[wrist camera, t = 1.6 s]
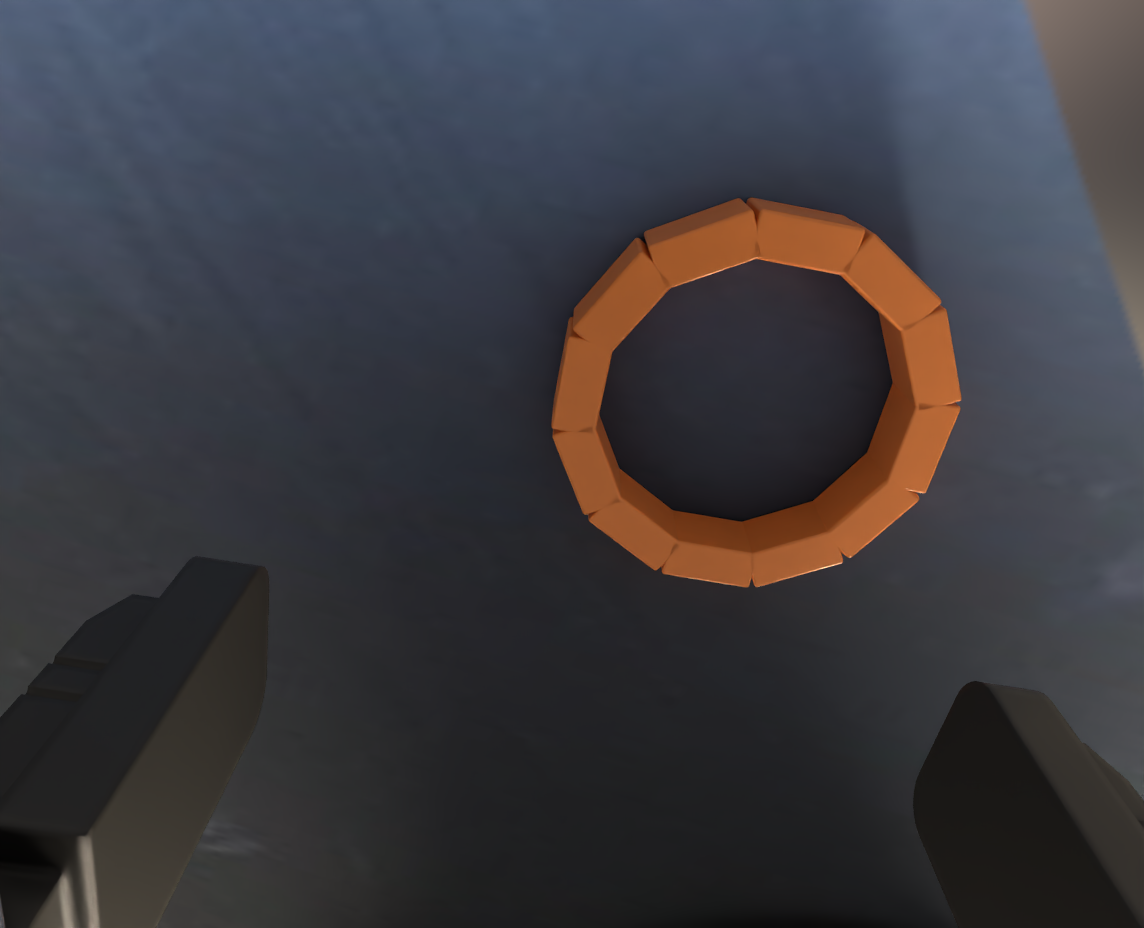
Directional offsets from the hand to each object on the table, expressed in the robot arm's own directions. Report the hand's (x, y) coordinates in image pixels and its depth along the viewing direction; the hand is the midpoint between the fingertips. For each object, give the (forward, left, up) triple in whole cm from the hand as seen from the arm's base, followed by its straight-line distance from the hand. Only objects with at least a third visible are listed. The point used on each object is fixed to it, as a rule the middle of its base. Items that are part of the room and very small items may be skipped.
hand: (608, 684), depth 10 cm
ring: (0, +4, -11) cm, 12 cm away
